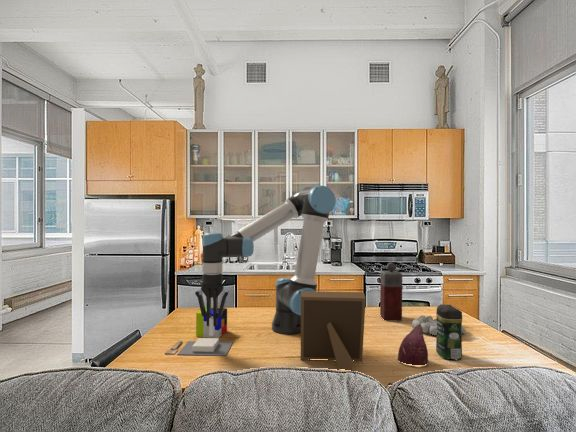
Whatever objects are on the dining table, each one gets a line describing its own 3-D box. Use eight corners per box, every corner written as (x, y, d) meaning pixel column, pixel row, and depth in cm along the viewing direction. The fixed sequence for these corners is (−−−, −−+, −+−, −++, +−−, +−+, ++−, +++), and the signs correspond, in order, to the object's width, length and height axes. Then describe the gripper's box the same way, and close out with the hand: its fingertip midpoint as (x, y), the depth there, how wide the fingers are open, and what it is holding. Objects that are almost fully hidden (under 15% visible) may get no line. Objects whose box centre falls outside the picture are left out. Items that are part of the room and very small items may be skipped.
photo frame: (300, 355, 136) (301, 287, 136) (360, 357, 135) (361, 288, 135) (300, 373, 121) (300, 297, 121) (367, 375, 120) (368, 298, 120)
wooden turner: (184, 343, 149) (184, 340, 149) (174, 355, 136) (174, 352, 136) (175, 342, 149) (175, 340, 149) (164, 354, 136) (164, 352, 136)
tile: (218, 338, 147) (198, 338, 147) (213, 346, 138) (192, 346, 138) (218, 343, 147) (198, 343, 147) (213, 352, 138) (192, 351, 138)
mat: (232, 342, 149) (232, 341, 149) (226, 355, 135) (226, 355, 135) (188, 341, 150) (188, 341, 150) (177, 355, 136) (177, 354, 136)
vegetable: (420, 365, 136) (428, 324, 138) (431, 373, 126) (440, 329, 128) (392, 358, 136) (401, 317, 138) (401, 365, 126) (411, 321, 128)
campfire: (422, 339, 155) (423, 325, 155) (405, 325, 176) (405, 312, 176) (474, 340, 156) (475, 326, 156) (451, 326, 177) (451, 313, 177)
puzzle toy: (218, 338, 155) (218, 314, 155) (196, 336, 157) (196, 312, 157) (227, 330, 164) (227, 308, 164) (205, 329, 166) (206, 307, 166)
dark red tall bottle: (396, 314, 193) (397, 261, 193) (402, 321, 182) (402, 264, 181) (379, 314, 193) (379, 260, 193) (383, 320, 182) (384, 263, 182)
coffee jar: (433, 351, 142) (433, 302, 142) (453, 351, 142) (454, 303, 142) (442, 361, 132) (443, 309, 132) (465, 361, 132) (465, 309, 132)
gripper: (231, 271, 146) (230, 331, 146) (198, 271, 146) (197, 331, 146) (227, 275, 138) (226, 338, 139) (192, 274, 139) (192, 337, 139)
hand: (211, 334), depth 142 cm, fingers closed
